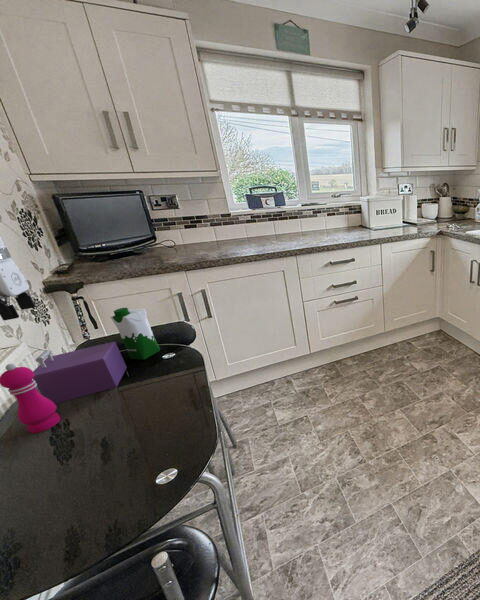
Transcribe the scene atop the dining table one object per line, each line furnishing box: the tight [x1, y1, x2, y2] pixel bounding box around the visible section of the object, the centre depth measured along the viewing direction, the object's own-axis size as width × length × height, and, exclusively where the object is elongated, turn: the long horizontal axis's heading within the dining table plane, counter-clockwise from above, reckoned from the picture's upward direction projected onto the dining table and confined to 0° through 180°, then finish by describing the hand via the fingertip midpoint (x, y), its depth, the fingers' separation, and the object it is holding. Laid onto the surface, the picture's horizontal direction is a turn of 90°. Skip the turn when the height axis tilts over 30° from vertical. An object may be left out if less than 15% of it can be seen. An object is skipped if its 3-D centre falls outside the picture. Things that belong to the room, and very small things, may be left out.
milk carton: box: [109, 307, 161, 361], centre depth 124 cm, size 9×9×20 cm
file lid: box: [32, 340, 117, 378], centre depth 105 cm, size 18×14×5 cm
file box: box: [33, 343, 128, 405], centre depth 108 cm, size 17×14×10 cm
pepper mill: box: [0, 363, 61, 434], centre depth 88 cm, size 7×7×20 cm
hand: (20, 313), depth 97 cm, fingers open, 9 cm apart
